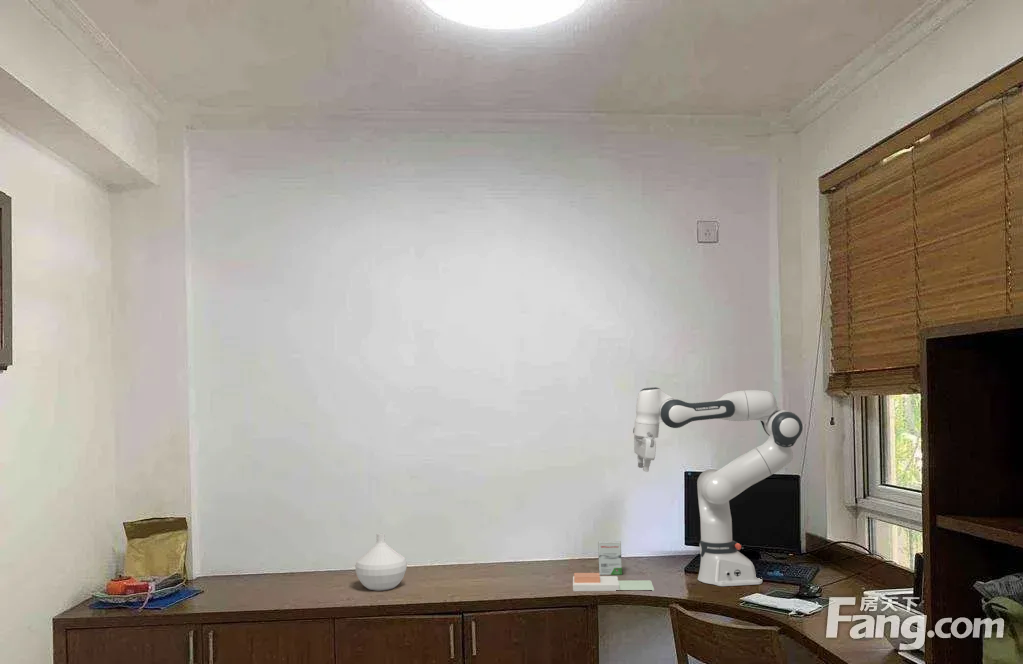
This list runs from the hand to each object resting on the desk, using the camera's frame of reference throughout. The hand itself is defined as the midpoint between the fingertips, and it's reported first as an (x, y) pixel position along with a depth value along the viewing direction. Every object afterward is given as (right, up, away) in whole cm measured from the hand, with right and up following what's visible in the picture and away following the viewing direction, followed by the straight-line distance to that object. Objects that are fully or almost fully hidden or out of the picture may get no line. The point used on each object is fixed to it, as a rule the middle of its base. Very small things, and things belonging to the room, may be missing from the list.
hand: (643, 469), depth 315 cm
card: (-21, -38, -8) cm, 44 cm away
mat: (-4, -40, -9) cm, 41 cm away
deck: (-18, -40, -8) cm, 45 cm away
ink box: (-11, -41, +10) cm, 44 cm away
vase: (-95, -42, -3) cm, 104 cm away
